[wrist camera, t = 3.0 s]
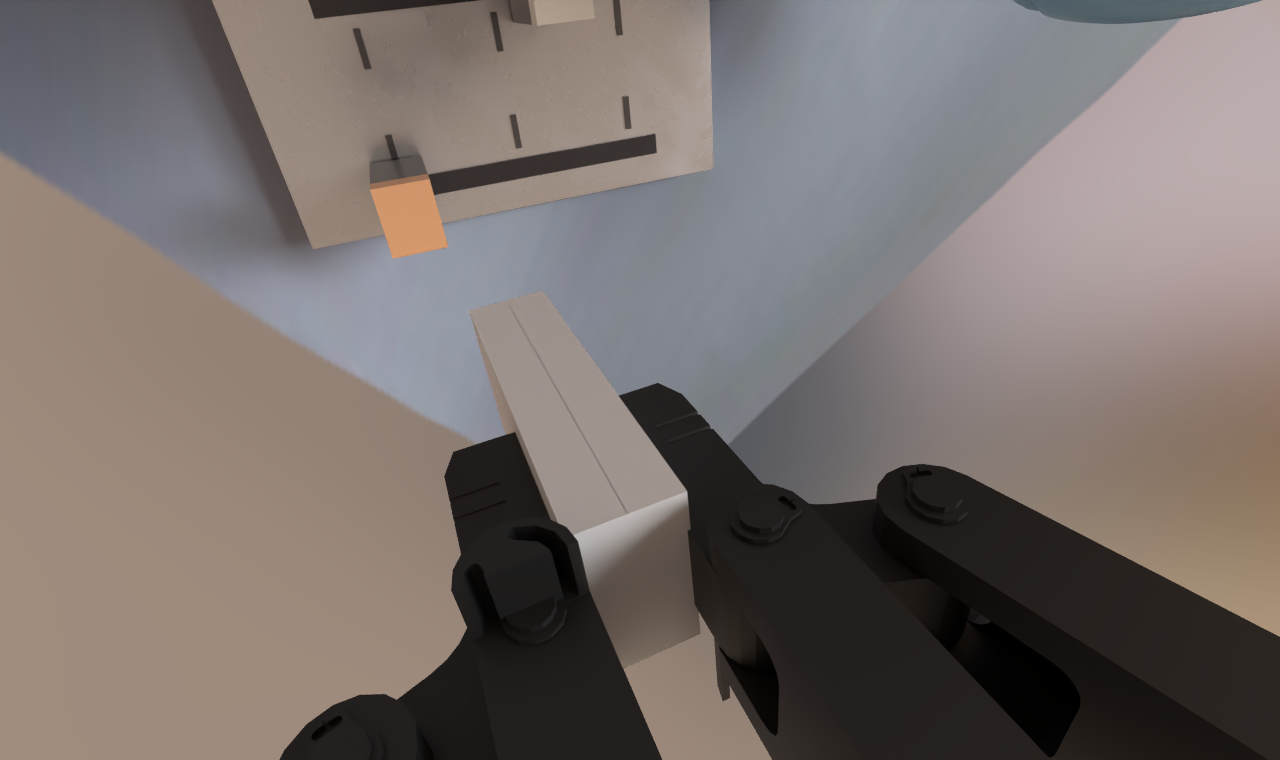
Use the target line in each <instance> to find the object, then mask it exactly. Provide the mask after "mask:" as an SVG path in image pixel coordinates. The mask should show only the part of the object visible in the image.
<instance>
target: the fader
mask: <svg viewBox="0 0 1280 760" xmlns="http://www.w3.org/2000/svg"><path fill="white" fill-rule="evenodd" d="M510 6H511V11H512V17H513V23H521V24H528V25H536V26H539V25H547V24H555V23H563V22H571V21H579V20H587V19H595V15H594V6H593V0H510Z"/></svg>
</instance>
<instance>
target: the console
mask: <svg viewBox="0 0 1280 760" xmlns="http://www.w3.org/2000/svg"><path fill="white" fill-rule="evenodd" d="M212 2H213V4H214V7H215V9H216V12H217V14H218V17H219V19H220V21H221V24H222V26H223V29H224V31H225V34H226V36H227V39H228V41H229V44H230V46H231V49H232V51H233V54H234V56H235V58H236V61H237V63H238V66H239V68H240V71H241V73H242V76H243V78H244V81H245V83H246V86H247V88H248V90H249V93H250V95H251V98H252V100H253V103H254V105H255V108H256V110H257V113H258V115H259V118H260V120H261V122H262V125H263V127H264V130H265V132H266V135H267V137H268V140H269V142H270V145H271V147H272V150H273V152H274V154H275V157H276V159H277V162H278V164H279V167H280V169H281V172H282V174H283V177H284V179H285V182H286V184H287V186H288V189H289V191H290V194H291V196H292V199H293V201H294V204H295V206H296V209H297V211H298V214H299V216H300V219H301V221H302V223H303V226H304V228H305V231H306V233H307V236H308V238H309V241H310V243H311V246H312V248H313V249H317V248H322V247H327V246H332V245H337V244H342V243H347V242H352V241H357V240H362V239H367V238H372V237H377V236H382V235H385V233H384V230H383V227H382V224H381V221H380V218H379V215H378V212H377V209H376V206H375V203H374V200H373V197H372V194H371V191H370V167H369V164H374V163H380V162H386V161H391V160H397V159H403V158H409V157H415V156H421V157H422V159H423V162H424V165H425V168H426V171H427V173H428V176H429V179H430V182H431V186H432V190H433V193H434V197H435V200H436V204H437V208H438V211H439V215H440V219H441V222H442V223H446V222H451V221H456V220H461V219H466V218H471V217H476V216H481V215H486V214H491V213H496V212H501V211H506V210H511V209H516V208H521V207H526V206H531V205H536V204H541V203H546V202H550V201H555V200H560V199H565V198H570V197H575V196H580V195H585V194H590V193H595V192H600V191H605V190H610V189H615V188H620V187H625V186H630V185H635V184H640V183H645V182H650V181H655V180H660V179H665V178H670V177H675V176H680V175H685V174H690V173H695V172H699V171H704V170H709V169H713V130H712V87H711V44H710V1H709V0H593V6H594V15H595V19H587V20H579V21H571V22H563V23H555V24H547V25H539V26H536V25H528V24H521V23H513V17H512V11H511V6H510V0H212Z"/></svg>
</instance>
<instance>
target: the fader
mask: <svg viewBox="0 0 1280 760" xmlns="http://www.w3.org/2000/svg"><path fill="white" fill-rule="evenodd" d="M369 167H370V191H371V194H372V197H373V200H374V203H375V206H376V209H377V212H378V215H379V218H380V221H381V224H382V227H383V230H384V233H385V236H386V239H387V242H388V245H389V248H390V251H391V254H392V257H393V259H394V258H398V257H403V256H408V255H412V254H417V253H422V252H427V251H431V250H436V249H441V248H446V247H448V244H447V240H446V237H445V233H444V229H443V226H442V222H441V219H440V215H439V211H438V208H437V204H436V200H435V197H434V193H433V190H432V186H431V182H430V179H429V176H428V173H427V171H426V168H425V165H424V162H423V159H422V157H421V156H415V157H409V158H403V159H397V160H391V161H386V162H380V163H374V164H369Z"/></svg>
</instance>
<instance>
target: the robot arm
mask: <svg viewBox="0 0 1280 760" xmlns="http://www.w3.org/2000/svg"><path fill="white" fill-rule="evenodd" d="M1012 1H1014V2H1016V3H1018V4H1020V5H1022V6H1023V7H1025V8H1026V9H1030V10H1036V11H1040V12H1041V13H1042V14H1044V15H1045V16H1048V17H1052V18H1055V19H1060V20H1065V21H1072V22H1082V23H1098V24H1127V23H1141V22H1152V21H1162V20H1170V19H1178V18H1185V17H1192V16H1197V15H1203V14H1208V13H1212V12H1217V11H1223V10H1227V9H1231V8H1235V7H1240V6H1243V5H1247V4H1251V3H1254V2H1258V1H1261V0H1012ZM469 312H470V316H471V319H472V322H473V326H474V329H475V333H476V336H477V339H478V343H479V346H480V350H481V353H482V356H483V360H484V363H485V367H486V370H487V374H488V377H489V380H490V384H491V387H492V391H493V394H494V397H495V401H496V404H497V408H498V411H499V414H500V418H501V421H502V424H503V427H504V429H505V432H506V434H507V435H504V436H501V437H498V438H495V439H492V440H488V441H485V442H482V443H479V444H476V445H473V446H470V447H467V448H465V449H461V450H458V451H455V452H453V455H452V457H451V460H450V463H449V465H448V468H447V471H446V473H445V476H444V477H445V481H446V486H447V490H448V495H449V499H450V503H451V509H452V514H453V519H454V522H455V527H456V532H457V537H458V541H459V547H460V550H461V556H460V558H459V560H458V561H457V563H456V565H455V567H454V569H453V574H452V588H451V591H452V593H453V595H454V598H455V600H456V602H457V605H458V607H459V609H460V612H461V614H462V616H463V619H464V621H465V623H466V626H467V629H466V632H465V633H464V636H463V638H462V639H461V641H460V643H459V645H458V646H457V647H456V649H455V650H454V651H453V653H452V654H451V655H450V656H449V658H448V659H447V660H446V661H445V662H444V663H443V664H442V665H440V666H439V667H438V668H437V669H436V670H435V671H434V672H433V673H432V674H430V675H429V676H428V677H427V678H425V679H424V680H422V681H421V682H420V683H418V684H417V685H416V686H415V687H413V688H412V689H411V690H409V691H408V692H407V693H405V694H404V695H403V696H401V697H400V698H399V699H397V700H396V699H393V698H392V697H389V696H387V695H385V694H380V695H379V694H376V695H358V696H356V697H353V698H351V699H348V700H345V701H343V702H340V703H338V704H335V705H333V706H331V707H330V708H329V709H327V710H326V711H324V712H323V713H322V714H320V715H319V716H317V717H316V718H315V719H313V720H312V721H311V722H309V723H308V724H307V725H306V726H305V727H304V728H303V729H302V730H301V731H300V733H299V734H298V735H297V736H296V738H295V739H294V740H293V741H292V742H291V743H290V744H289V746H288V747H287V748H286V749H285V750H284V752H283V754H282V756H281V758H280V760H662V758H661V756H660V754H659V751H658V749H657V746H656V744H655V742H654V740H653V737H652V735H651V733H650V730H649V728H648V726H647V723H646V721H645V719H644V716H643V714H642V712H641V709H640V707H639V705H638V703H637V700H636V698H635V695H634V693H633V690H632V688H631V686H630V684H629V681H628V679H627V677H626V674H625V672H624V670H623V669H624V668H626V667H628V666H630V665H632V664H634V663H637V662H639V661H641V660H643V659H646V658H648V657H650V656H652V655H654V654H656V653H659V652H661V651H663V650H665V649H667V648H670V647H672V646H674V645H676V644H678V643H681V642H683V641H685V640H687V639H689V638H692V637H694V636H696V635H698V634H700V624H699V613H698V611H699V612H700V614H701V616H702V617H703V619H704V621H705V623H706V624H707V626H708V628H709V629H710V631H711V633H712V634H713V636H714V641H715V655H716V669H717V682H718V687H719V691H720V694H721V696H722V700H723V701H724V700H726V699H728V698H730V689H729V685H730V686H731V688H732V690H733V692H734V693H735V695H736V697H737V699H738V700H739V702H740V704H741V706H742V707H743V709H744V711H745V713H746V714H747V716H748V718H749V720H750V721H751V723H752V725H753V726H754V728H755V730H756V732H757V733H758V735H759V737H760V739H761V741H762V742H763V744H764V746H765V748H766V749H767V751H768V753H769V755H770V756H771V758H772V760H1280V637H1279V636H1277V635H1275V634H1273V633H1271V632H1269V631H1267V630H1265V629H1263V628H1261V627H1259V626H1257V625H1255V624H1254V623H1251V622H1250V621H1248V620H1246V619H1244V618H1242V617H1240V616H1238V615H1236V614H1234V613H1232V612H1230V611H1228V610H1227V609H1225V608H1223V607H1221V606H1219V605H1217V604H1215V603H1213V602H1211V601H1209V600H1207V599H1205V598H1203V597H1201V596H1199V595H1197V594H1195V593H1194V592H1191V591H1190V590H1188V589H1186V588H1184V587H1182V586H1180V585H1178V584H1176V583H1174V582H1172V581H1170V580H1168V579H1166V578H1164V577H1162V576H1161V575H1159V574H1157V573H1155V572H1153V571H1151V570H1149V569H1147V568H1145V567H1143V566H1141V565H1139V564H1137V563H1135V562H1133V561H1132V560H1130V559H1128V558H1126V557H1124V556H1122V555H1120V554H1118V553H1116V552H1114V551H1112V550H1110V549H1108V548H1106V547H1104V546H1102V545H1100V544H1099V543H1097V542H1095V541H1093V540H1091V539H1089V538H1087V537H1085V536H1083V535H1081V534H1079V533H1077V532H1075V531H1073V530H1071V529H1069V528H1067V527H1066V526H1064V525H1062V524H1060V523H1058V522H1056V521H1054V520H1052V519H1050V518H1048V517H1046V516H1044V515H1042V514H1040V513H1038V512H1037V511H1034V510H1033V509H1031V508H1029V507H1027V506H1025V505H1023V504H1021V503H1019V502H1017V501H1015V500H1013V499H1011V498H1009V497H1007V496H1005V495H1004V494H1001V493H1000V492H998V491H996V490H994V489H992V488H990V487H988V486H986V485H984V484H982V483H980V482H978V481H976V480H974V479H973V478H971V477H969V476H967V475H964V474H962V473H959V472H956V471H954V470H951V469H948V468H946V467H941V466H933V465H926V464H918V465H909V466H902V467H900V468H898V469H895V470H893V471H891V472H889V473H887V474H886V475H885V476H884V478H883V479H882V480H881V482H880V483H879V484H878V487H877V494H876V499H872V500H863V501H854V502H845V503H837V504H808V503H807V502H805V500H803V499H802V498H800V497H799V496H798V495H796V494H795V493H794V492H792V491H790V490H787V489H784V488H781V487H778V486H775V485H770V484H769V485H768V484H762V483H761V482H760V481H759V480H758V479H757V478H756V476H754V474H753V473H752V472H751V471H750V470H749V469H748V468H747V466H745V464H744V463H743V462H742V461H741V460H740V459H739V458H738V456H737V455H736V454H735V453H734V452H733V451H732V450H731V449H730V447H729V446H728V445H727V444H726V443H725V442H724V441H723V440H722V438H721V437H720V436H719V435H718V434H717V433H716V432H715V431H714V429H711V428H710V425H709V424H708V423H707V422H706V421H705V419H704V418H703V417H702V416H701V415H698V413H697V410H696V409H695V408H694V407H693V406H692V405H691V404H690V403H689V402H688V400H687V399H686V398H685V397H684V396H683V395H682V394H680V393H678V392H676V391H674V390H672V389H670V388H668V387H665V386H663V385H661V384H659V383H656V384H653V385H650V386H647V387H644V388H641V389H638V390H635V391H632V392H629V393H626V394H623V395H620V396H618V395H617V393H616V392H615V390H614V389H613V388H612V386H611V385H610V383H609V382H608V381H607V379H606V378H605V377H604V375H603V374H602V372H601V371H600V370H599V368H598V367H597V365H596V364H595V363H594V361H593V360H592V359H591V357H590V356H589V354H588V353H587V352H586V350H585V349H584V347H583V346H582V345H581V343H580V342H579V340H578V339H577V338H576V336H575V335H574V334H573V332H572V331H571V329H570V328H569V327H568V325H567V324H566V322H565V321H564V320H563V318H562V317H561V316H560V314H559V313H558V311H557V310H556V309H555V307H554V306H553V304H552V303H551V302H550V300H549V299H548V297H547V296H546V295H545V293H544V292H543V291H541V292H537V293H533V294H529V295H526V296H522V297H518V298H514V299H511V300H507V301H503V302H499V303H496V304H492V305H488V306H484V307H481V308H477V309H473V310H469Z"/></svg>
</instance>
